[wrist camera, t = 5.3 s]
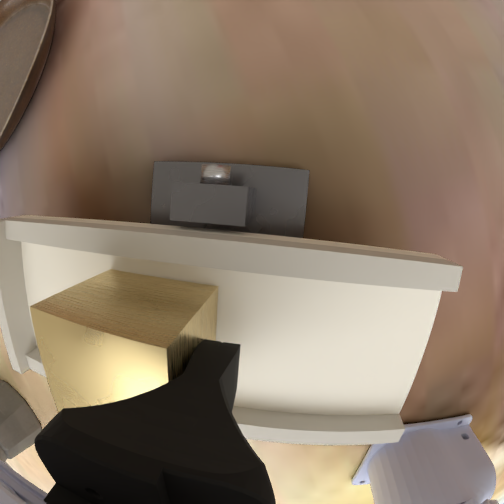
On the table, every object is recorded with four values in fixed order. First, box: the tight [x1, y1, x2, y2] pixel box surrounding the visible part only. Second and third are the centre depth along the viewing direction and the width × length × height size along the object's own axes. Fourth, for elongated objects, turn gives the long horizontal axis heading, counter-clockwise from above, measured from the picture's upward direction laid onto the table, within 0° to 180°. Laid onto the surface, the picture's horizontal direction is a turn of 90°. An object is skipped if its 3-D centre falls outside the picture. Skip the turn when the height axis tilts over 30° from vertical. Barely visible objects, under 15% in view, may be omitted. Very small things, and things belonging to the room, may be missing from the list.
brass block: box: [30, 269, 218, 412], centre depth 10 cm, size 5×5×5 cm
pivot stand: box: [150, 161, 309, 238], centre depth 14 cm, size 8×15×4 cm, turn 176°
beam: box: [0, 215, 463, 445], centre depth 12 cm, size 22×9×3 cm, turn 86°
